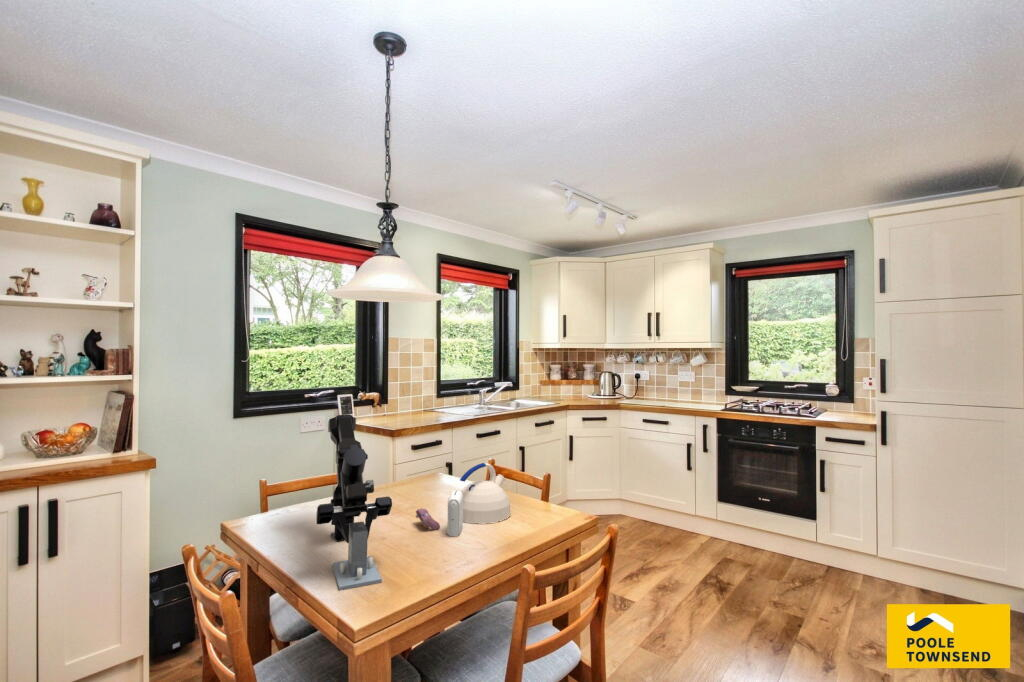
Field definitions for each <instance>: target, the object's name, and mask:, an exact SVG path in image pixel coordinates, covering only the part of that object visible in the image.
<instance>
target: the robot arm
mask: <svg viewBox="0 0 1024 682" xmlns="http://www.w3.org/2000/svg"><path fill="white" fill-rule="evenodd" d="M356 430H357V418H356V417H354V416H353V415H352V414H351V413H350V414H338V415H335V416H334V417H331V418H329V420H328V422H327V431H328V432H327V433H330V435H329V436H330V437H329V438H330V440H331V441H332V442H333V444H334V445H335V464H336V481H337V483H336V484H337V485H336V487H335V488H334V490H333V492H332V493H333V494H332V498H331V499H330V502H329V503H323V504H322V503H321V504H318V506H317V507H316V515H315V516H316V522H315V523H316V525H325V524H330V525H331V526H334V532H331V533H330V536H331V537H332V538H333V539H334V540H335V541H336V542H341V541H344V540H345V542H346V543H347V544H349V523H355V518H356V517H360V516H361V515H362V513H365V514H366V515H365V522H364V524H365V526H366V528H367V530H368V538H369V536H370V530H371V526H372V523H373V521H374V520H376V519H378V517H383V516H389V515H390V513H391V510H392V507H393V501H392V498H391V496H389V495H388V496H381V497H375V501H374V502H373V503H366V502H367V501H368V494H373V493H374V492H375V483H374V480H373V479H368V480H366V481H365V482H364V480H363V479H364V477H363V473H364V471H365V466H366V462H367V460H368V458H369V456H368V454H367V452H366V451H365V450H364V449H365V448H362V444H361V443H362V442H360V441H358V440H356V436H355V431H356Z"/></svg>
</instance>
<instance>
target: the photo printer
mask: <svg viewBox="0 0 1024 682" xmlns="http://www.w3.org/2000/svg"><path fill="white" fill-rule="evenodd" d="M461 491H462V490H456V489H454V490H452V492H451V493H450V494H449V497H448V500H447V527H446V528H447V530H446V531H447V535H448V536H449V537H458V536H460V534H461V532H462V529H463V524H464V522H463V494H462V493H461Z"/></svg>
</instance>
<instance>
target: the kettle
mask: <svg viewBox="0 0 1024 682" xmlns="http://www.w3.org/2000/svg"><path fill="white" fill-rule="evenodd" d="M484 467H485V468H488V470H489V480H483V479H481V480H480V479H479V480H475V481H473V482H470V483H468V484H467V485H466V486H464V487H463V488H462V490H460V491H461V493H462V494H463V523H465V522H466V523H467V524H471V523H479V524H478V525H483V524H482V523H491V522H497V521H500V520H503V519H505V518H507V517H508V516H509V515H510V513H511V514H512V512H511V502H510V499H509V497H508V493H506V491H505V490H504V489H503V488H502V485H503V484H504V482H505V481H506V478H505V477H504V475H502V474H496V469H495V468H494V466H493V465H492V464H490V463H485V462H481V463H479V464H476V465H474V466H472V467H471V468H469V469H468V470H467V471H466V472H464V473H463V475H462V476H461V477H460V479H459V481H460V482H464V483H465V482H466V481H467V479H468V478H469V477H471V475H472V474H473V473H474V472H476V471H478V470H479V469H482V468H484ZM510 516H511V515H510Z"/></svg>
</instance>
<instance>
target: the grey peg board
mask: <svg viewBox="0 0 1024 682" xmlns="http://www.w3.org/2000/svg"><path fill="white" fill-rule="evenodd" d="M332 568H333V572H334V577H335V580H336V584H337V587H338V591H342V590H343V591H344V590H347V589H349V590H350V589H354V588H359V587H364V586H369V585H374V584H380V583H382V582H383V579H382V576H381V574H380V571H379V570H378V567H377V566H376V563H375V560H374V558H373V556H372V555H369V556H368V555H367V570H366V575H362V568H357V576H356V577H351V574H350V571H349V568H348V559H346V560H339V561H334V562H332Z"/></svg>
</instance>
